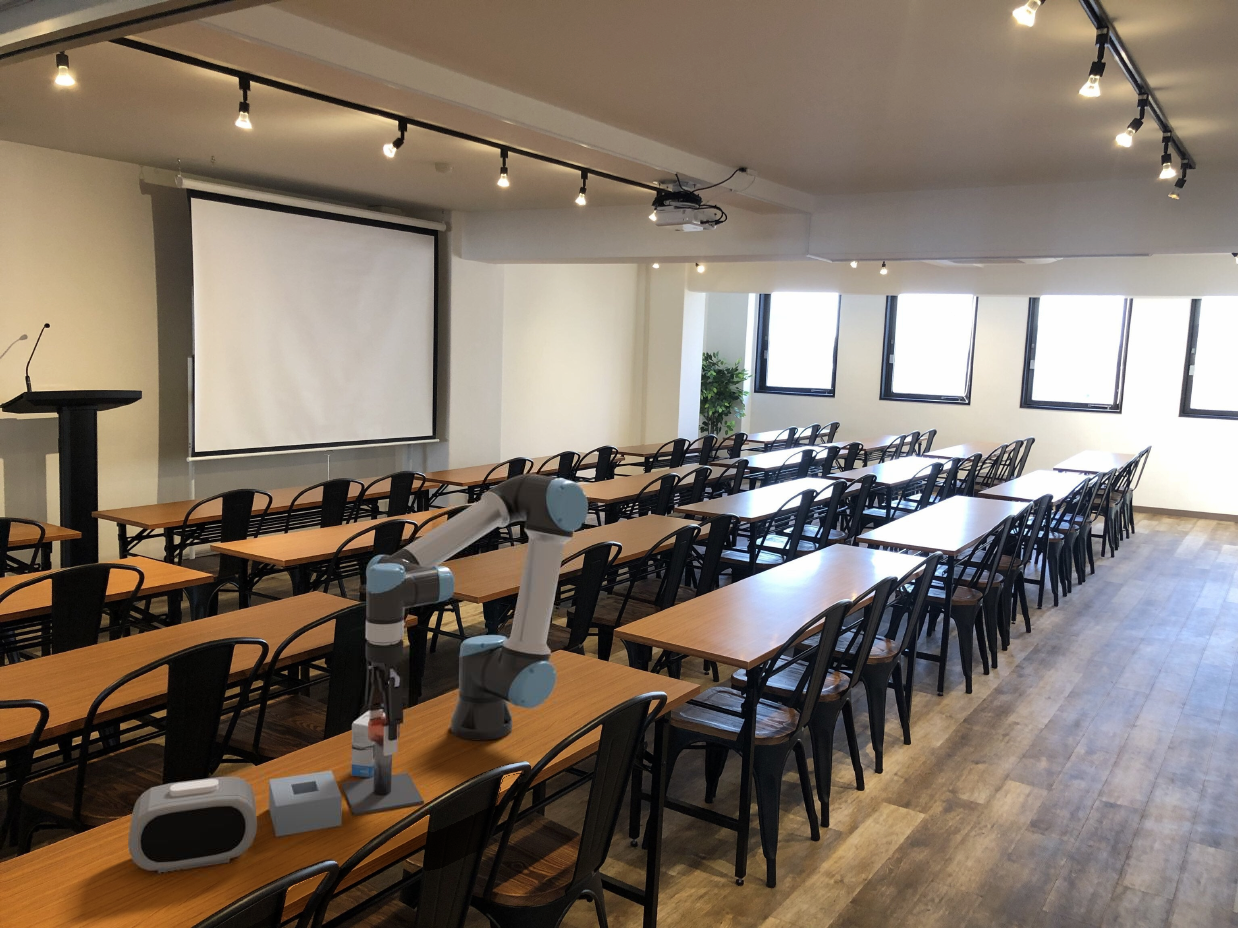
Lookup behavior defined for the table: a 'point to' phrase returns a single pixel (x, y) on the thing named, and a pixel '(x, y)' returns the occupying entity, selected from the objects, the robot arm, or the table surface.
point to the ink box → (362, 748)
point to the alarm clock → (192, 824)
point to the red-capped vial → (380, 757)
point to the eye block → (304, 803)
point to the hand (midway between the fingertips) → (383, 746)
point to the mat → (369, 802)
